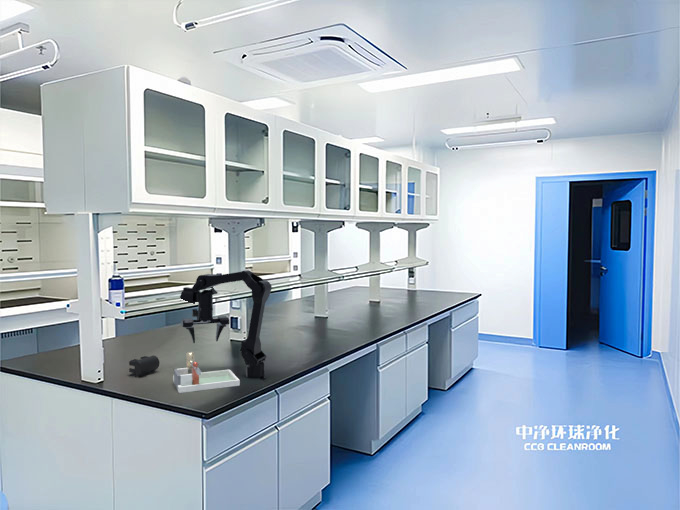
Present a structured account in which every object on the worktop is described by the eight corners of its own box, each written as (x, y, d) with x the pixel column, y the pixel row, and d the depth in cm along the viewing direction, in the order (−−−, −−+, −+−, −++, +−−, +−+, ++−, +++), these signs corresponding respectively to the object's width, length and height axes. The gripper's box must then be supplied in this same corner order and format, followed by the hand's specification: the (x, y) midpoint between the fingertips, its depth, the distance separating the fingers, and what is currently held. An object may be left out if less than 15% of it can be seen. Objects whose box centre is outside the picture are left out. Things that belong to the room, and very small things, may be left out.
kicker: (193, 373, 197) (193, 351, 196) (203, 389, 177) (203, 364, 177) (185, 374, 195) (185, 352, 195) (195, 390, 176) (195, 365, 176)
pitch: (229, 376, 198) (229, 361, 198) (239, 388, 184) (239, 371, 183) (173, 383, 188) (172, 367, 188) (178, 395, 174) (178, 378, 174)
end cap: (141, 378, 195) (141, 361, 194) (128, 376, 197) (128, 359, 197) (159, 372, 204) (159, 356, 204) (146, 369, 207) (146, 354, 206)
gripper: (223, 301, 213) (223, 336, 213) (179, 303, 205) (179, 340, 205) (229, 304, 203) (229, 341, 203) (183, 306, 195) (183, 345, 195)
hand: (205, 342), depth 202 cm, fingers open, 9 cm apart
